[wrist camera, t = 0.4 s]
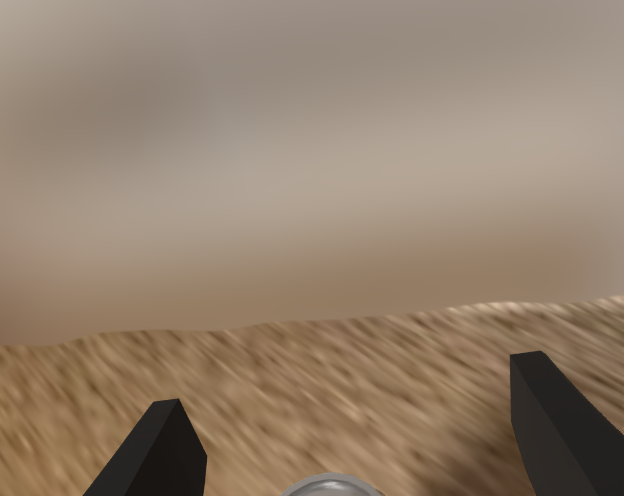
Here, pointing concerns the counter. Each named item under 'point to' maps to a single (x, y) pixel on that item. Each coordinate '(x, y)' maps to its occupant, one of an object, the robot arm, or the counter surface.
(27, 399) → the counter surface
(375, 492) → the beer can
